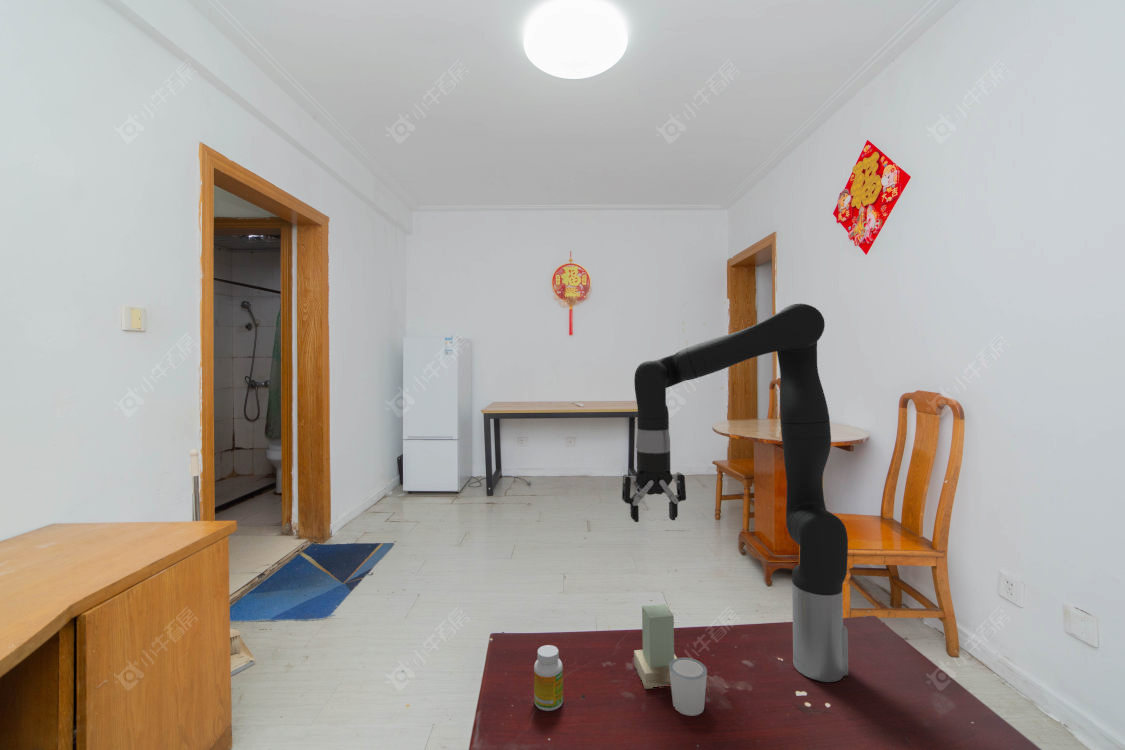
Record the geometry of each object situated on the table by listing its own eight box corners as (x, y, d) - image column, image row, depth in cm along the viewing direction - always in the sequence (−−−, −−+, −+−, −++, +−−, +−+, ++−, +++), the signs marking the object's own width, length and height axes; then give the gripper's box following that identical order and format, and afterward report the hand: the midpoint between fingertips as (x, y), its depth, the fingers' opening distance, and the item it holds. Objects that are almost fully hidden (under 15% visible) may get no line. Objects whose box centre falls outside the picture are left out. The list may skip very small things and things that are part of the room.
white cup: (686, 723, 86) (686, 683, 86) (661, 700, 92) (661, 663, 92) (715, 710, 89) (715, 672, 89) (689, 688, 95) (689, 653, 95)
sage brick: (665, 651, 103) (665, 604, 102) (674, 665, 98) (673, 615, 98) (642, 653, 102) (642, 605, 102) (650, 668, 97) (649, 617, 97)
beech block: (670, 661, 104) (670, 647, 104) (684, 685, 96) (684, 669, 96) (634, 664, 103) (633, 650, 103) (645, 688, 95) (645, 673, 95)
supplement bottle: (559, 713, 89) (559, 660, 89) (531, 710, 90) (530, 657, 90) (565, 694, 94) (564, 644, 94) (538, 691, 95) (537, 641, 95)
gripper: (626, 452, 106) (627, 527, 106) (689, 450, 108) (690, 523, 108) (618, 447, 114) (619, 517, 114) (677, 445, 115) (678, 513, 115)
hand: (654, 520), depth 111 cm, fingers open, 8 cm apart
